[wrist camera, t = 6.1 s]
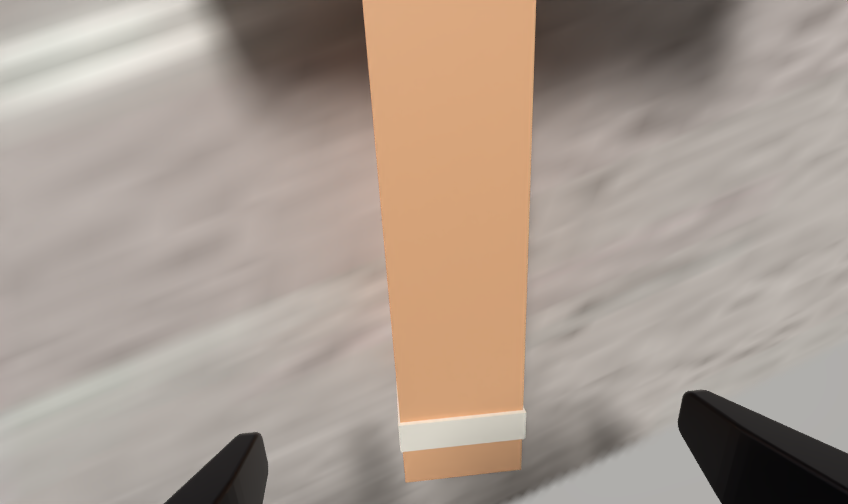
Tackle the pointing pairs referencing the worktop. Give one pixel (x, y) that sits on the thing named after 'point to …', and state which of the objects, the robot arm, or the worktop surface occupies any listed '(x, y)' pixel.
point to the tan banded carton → (455, 222)
